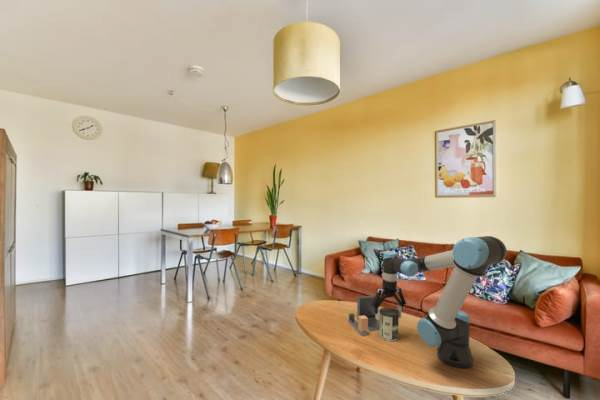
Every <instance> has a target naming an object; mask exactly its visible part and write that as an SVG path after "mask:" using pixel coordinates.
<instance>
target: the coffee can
mask: <svg viewBox="0 0 600 400" xmlns="http://www.w3.org/2000/svg"><path fill="white" fill-rule="evenodd" d="M379 318H380V320H379V330H378V331H379V332H378V334H379V335H378V336H379V338H381V340H384V341H387V342H396V341H398V340H399V325H400V324H399V323H400V322H399V321H400V320H399V319H400V318H399V312H398V311H397V309H395V308H393V307H381V308H380V314H379Z"/></svg>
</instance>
